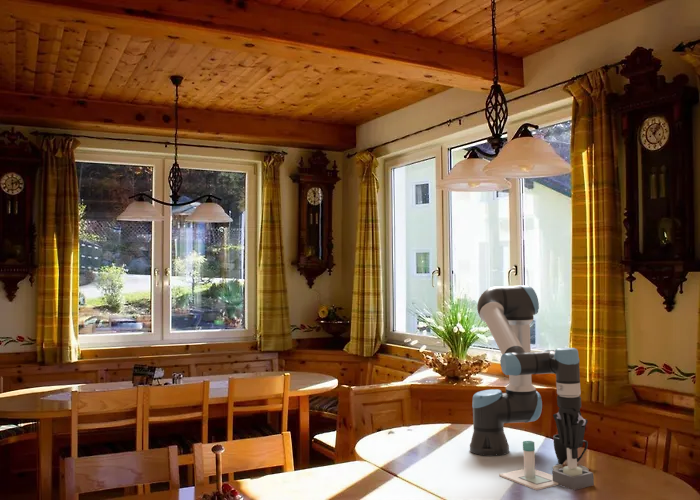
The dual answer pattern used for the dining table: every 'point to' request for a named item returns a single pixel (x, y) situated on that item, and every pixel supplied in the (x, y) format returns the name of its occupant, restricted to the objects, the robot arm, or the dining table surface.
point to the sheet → (531, 479)
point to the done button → (572, 471)
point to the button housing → (573, 479)
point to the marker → (529, 459)
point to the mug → (564, 449)
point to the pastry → (567, 465)
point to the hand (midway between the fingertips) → (572, 467)
